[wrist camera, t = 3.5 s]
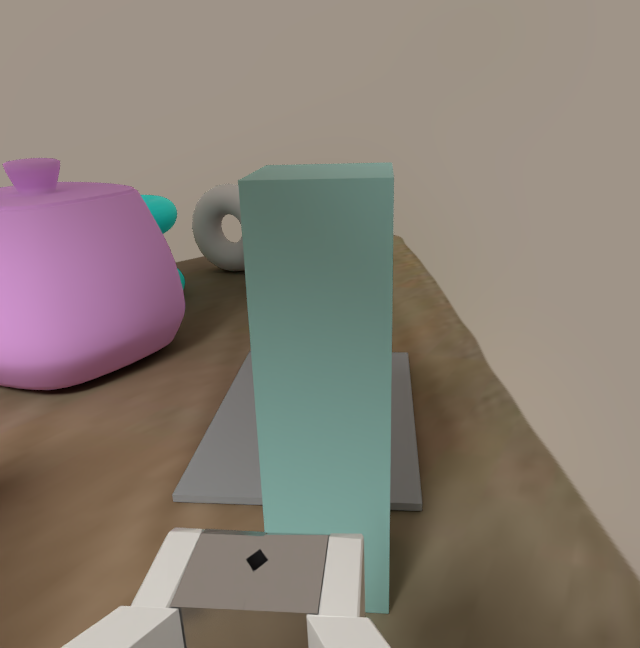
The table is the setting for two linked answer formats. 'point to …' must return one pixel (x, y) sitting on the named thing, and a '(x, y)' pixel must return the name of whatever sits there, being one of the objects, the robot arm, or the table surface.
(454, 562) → the table surface
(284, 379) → the teal block
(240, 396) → the grey mat
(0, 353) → the teapot
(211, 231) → the donut
